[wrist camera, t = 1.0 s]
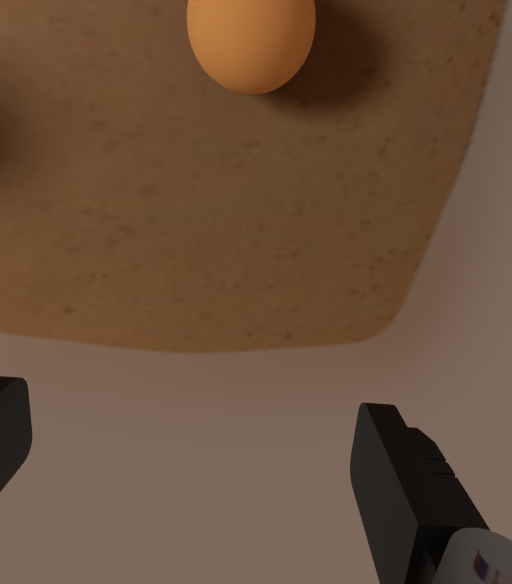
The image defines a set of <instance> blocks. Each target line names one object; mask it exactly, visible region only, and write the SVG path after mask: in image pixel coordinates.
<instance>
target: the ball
mask: <svg viewBox="0 0 512 584" xmlns="http://www.w3.org/2000/svg"><path fill="white" fill-rule="evenodd" d="M315 27H316V11H315V3H314V0H189V1H188V7H187V28H188V35H189V39H190V42H191V46H192V49H193V51H194V54H195V56H196V58H197V60H198V61H199V63H200V65H201V66H202V68H203V69H204V70H205V72H206V73H207V74H208V75H209V76H210V77H211V78H212V79H213V80H215V81H216V82H217V83H218V84H220V85H221V86H223V87H224V88H226V89H229V90H231V91H233V92H237V93H240V94H247V95H257V94H263V93H267V92H270V91H273V90H275V89H277V88H279V87H281V86H282V85H284V84H285V83H286V82H288V81H289V80H290V79H291V78H292V77H293V76H294V75H295V74H296V73H297V72H298V71H299V69H300V68H301V66H302V65H303V64H304V62H305V60H306V58H307V56H308V54H309V51H310V49H311V46H312V42H313V39H314V33H315Z"/></svg>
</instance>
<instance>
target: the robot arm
mask: <svg viewBox="0 0 512 584" xmlns="http://www.w3.org/2000/svg"><path fill="white" fill-rule="evenodd" d="M31 443H32V426H31V415H30V404H29V394H28V386H27V383H26V381H25V380H24V379H23V378H17V377H3V376H0V492H1V490H2V489H3V488H4V487H5V485H6V484H7V483H8V482H9V480H10V479H11V478H12V477H13V475H14V474H15V473H16V472H17V470H18V469H19V468H20V467H21V465H22V464H23V463H24V461H25V460H26V458H27V456H28V454H29V451H30V447H31ZM350 475H351V483H352V487H353V491H354V494H355V498H356V501H357V505H358V508H359V512H360V515H361V519H362V522H363V526H364V529H365V533H366V536H367V539H368V543H369V547H370V550H371V554H372V557H373V561H374V564H375V568H376V571H377V575H378V578H379V582H380V584H512V541H511V540H509V539H508V538H506V537H504V536H502V535H500V534H497V533H495V532H492V531H490V529H489V527H488V526H487V524H486V523H485V521H484V519H483V518H482V516H481V515H480V513H479V512H478V510H477V508H476V507H475V505H474V504H473V502H472V500H471V499H470V497H469V496H468V494H467V492H466V491H465V489H464V488H463V486H462V485H461V483H460V482H459V480H458V478H455V474H454V472H453V470H452V469H451V467H450V466H449V464H448V463H446V459H445V458H444V456H443V454H442V453H441V451H440V450H439V448H438V446H437V445H436V443H435V442H434V441H432V440H431V439H430V438H429V437H428V436H426V435H425V434H424V433H423V432H422V431H420V430H419V429H418V428H410V427H407V426H406V424H405V422H404V420H403V419H402V417H401V415H400V413H399V411H398V410H397V408H396V407H395V406H394V405H389V404H375V403H362V404H361V405H360V407H359V411H358V417H357V423H356V429H355V435H354V441H353V447H352V453H351V461H350Z"/></svg>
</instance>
